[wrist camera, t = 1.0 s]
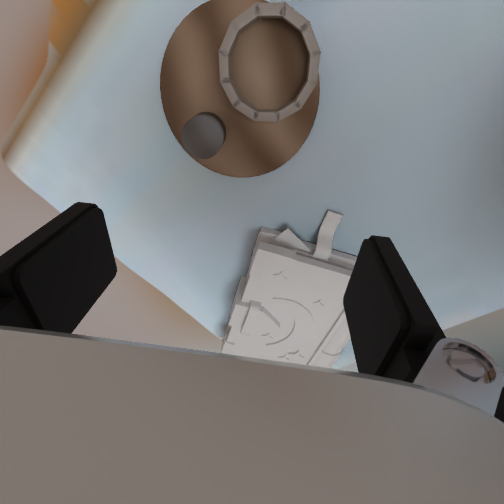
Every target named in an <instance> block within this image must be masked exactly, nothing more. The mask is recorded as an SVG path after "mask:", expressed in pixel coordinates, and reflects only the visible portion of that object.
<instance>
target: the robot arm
mask: <svg viewBox="0 0 504 504" xmlns="http://www.w3.org/2000/svg"><path fill="white" fill-rule="evenodd" d="M116 272H117V267H116V263H115V258H114V254H113V250H112V246H111V242H110V238H109V234H108V230H107V226H106V222H105V218H104V214H103V211H102V210H101V209H100V208H98V206H97V205H96V204H91V203H82V202H77V203H75V204H74V205H72V206H71V207H69V208H68V209H67V210H65V211H64V212H62V213H61V214H59V215H58V216H57V217H55V218H54V219H52V220H51V221H50V222H48V223H47V224H46V225H44V226H42V227H41V228H40V229H38V230H37V231H35V232H34V233H32V234H31V235H30V236H28V237H27V238H25V239H24V240H23V241H21V242H20V243H18V244H17V245H15V246H14V247H13V248H11V249H10V250H8V251H7V252H6V253H4V254H3V255H2V256H0V504H504V387H503V384H504V375H503V373H502V371H501V368H500V367H499V365H498V364H497V363H496V362H495V361H494V359H493V358H492V357H491V356H489V355H488V354H487V353H486V352H485V351H483V350H482V349H480V348H479V347H477V346H476V345H474V344H472V343H470V342H467V341H465V340H462V339H458V338H446V336H445V335H444V333H443V331H442V329H441V328H440V326H439V324H438V322H437V320H436V319H435V317H434V315H433V313H432V312H431V310H430V308H429V306H428V305H427V303H426V301H425V299H424V297H423V296H422V294H421V292H420V290H419V289H418V287H417V285H416V283H415V282H414V280H413V278H412V276H411V275H410V273H409V271H408V269H407V267H406V266H405V264H404V262H403V260H402V259H401V257H400V255H399V253H398V252H397V250H396V248H395V246H394V244H393V243H392V241H391V239H390V238H389V237H381V236H370V238H369V239H364V241H363V243H362V245H361V248H360V251H359V254H358V257H357V260H356V262H355V265H354V268H353V271H352V274H351V277H350V279H349V282H348V285H347V288H346V291H345V294H344V297H343V306H344V310H345V315H346V319H347V324H348V328H349V332H350V337H351V341H352V345H353V350H354V354H355V359H356V363H357V367H358V372H359V373H357V372H350V371H343V370H337V369H331V368H324V367H318V366H311V365H304V364H296V363H289V362H282V361H275V360H267V359H260V358H253V357H245V356H238V355H231V354H223V353H215V352H208V351H201V350H193V349H186V348H178V347H170V346H162V345H155V344H147V343H139V342H132V341H124V340H117V339H109V338H101V337H92V336H85V335H77V334H71V333H72V332H73V331H74V329H75V328H76V327H77V325H78V324H79V323H80V322H81V320H82V319H83V318H84V316H85V315H86V314H87V312H88V311H89V310H90V309H91V307H92V306H93V304H94V303H95V302H96V300H97V299H98V298H99V297H100V296H101V294H102V293H103V291H104V290H105V289H106V288H107V286H108V285H109V284H110V283H111V281H112V280H113V279H114V277H115V275H116Z"/></svg>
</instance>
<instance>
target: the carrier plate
mask: <svg viewBox="0 0 504 504" xmlns="http://www.w3.org/2000/svg"><path fill="white" fill-rule="evenodd" d="M320 53H321V52H320V50H319V47H318V44H317V41H316V38H315V36H314V33H313V30H312V27H311V25H310V22H309V21H308V20H307V19H305V18H304V17H303V16H302V15H300V14H299V13H298V12H297V11H295V10H294V9H293V8H292V7H290V6H289V5H288V4H287V3H285V2H284V3H269V2H267V1H265V0H210V1H208V2H206V3H204V4H202V5H200V6H199V7H197V8H196V9H195V10H193V11H192V12H191V13H190V14H189V15H188V16H187V17H186V18H184V19H183V21H182V22H181V23H180V25H179V26H178V27H177V28H176V30H175V32H174V33H173V35H172V37H171V39H170V41H169V43H168V46H167V48H166V51H165V54H164V58H163V62H162V68H161V75H160V90H161V99H162V104H163V109H164V112H165V116H166V119H167V121H168V124H169V126H170V128H171V130H172V132H173V134H174V136H175V137H176V139H177V140H178V142H179V143H180V144H181V146H182V147H183V148H184V149H185V151H186V152H187V153H188V154H189V155H190V156H191V157H192V158H194V159H195V160H196V161H197V162H199V163H200V164H202V165H203V166H204V167H206V168H208V169H210V170H212V171H214V172H217V173H220V174H222V175H227V176H231V177H253V176H259V175H262V174H266V173H268V172H270V171H273V170H275V169H277V168H278V167H280V166H282V165H283V164H284V163H286V162H287V161H288V160H290V159H291V158H292V157H293V156H294V155H295V154H296V153H297V152H298V150H299V149H300V148H301V146H302V145H303V144H304V142H305V140H306V139H307V137H308V135H309V133H310V131H311V129H312V127H313V124H314V121H315V118H316V114H317V110H318V104H319V93H320V87H319V75H318V68H319V60H320Z"/></svg>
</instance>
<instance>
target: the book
mask: <svg viewBox="0 0 504 504" xmlns="http://www.w3.org/2000/svg"><path fill="white" fill-rule="evenodd" d="M342 217H343V215H342V214H339V213H335V212H332V211H329V210H328V212H327V214H326V216H325V218H324V220H323V222H322V224H321V227H320V229H319V233H318V237H317V244H313V243H310V242H306V241H303V240H300V239H299V238H298V237H296V236H295V235H294V234H293V233H292V232H291V231H290V230H289V229H288V228H287V229H286V230H285V231H284V232H281V231H278V230H274V229H270V228H266V227H263V226H262V227H261V229H260V232H259V235H258V237H257V240H256V243H255V246H254V249H253V252H252V255H251V256H252V260H251V263H250V266H249V270H248V272H247V275H246V277H245V276H241V279H240V282H239V285H238V288H237V291H236V294H235V297H234V300H233V304H232V307H231V312H230V319H229V322H228V325H227V328H226V331H225V335H224V336H222V337H219V338H220V339H221V341H223V343H222V348H221V353H223V354H231V355H238V356H245V357H253V358H260V359H267V360H275V361H282V362H289V363H296V364H304V365H311V366H318V367H324V368H331V367H332V366H333V365H334V363H335V362H336V361H337V359H338V358H339V357H340V355H341V354H342V352H343V350H344V347H345V345H346V344H347V343H348V341H349V340H350V339H351V337H350V332H349V328H348V324H347V319H346V315H345V310H344V306H343V297H344V294H345V291H346V288H347V285H348V282H349V279H350V277H351V274H352V271H353V268H354V265H355V262H356V260H357V257H356V256H352V255H349V254H346V253H342V252H339V251H336V250H333V249H332V241H333V236H334V233H335V231H336V228H337V226H338V224H339V223H340V221H341V219H342Z"/></svg>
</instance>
